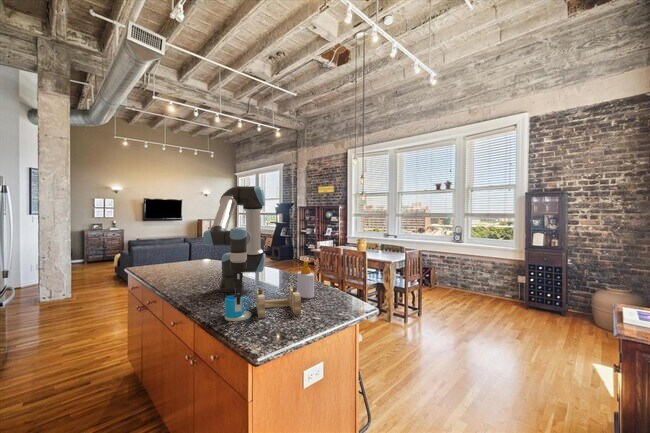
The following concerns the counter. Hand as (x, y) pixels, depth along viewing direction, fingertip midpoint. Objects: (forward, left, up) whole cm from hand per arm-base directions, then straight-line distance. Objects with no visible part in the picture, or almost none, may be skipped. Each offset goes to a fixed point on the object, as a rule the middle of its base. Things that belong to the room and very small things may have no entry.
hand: (238, 306), depth 138 cm
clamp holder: (-3, +19, -5) cm, 20 cm away
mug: (-1, 0, -4) cm, 4 cm away
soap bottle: (-25, +38, -5) cm, 46 cm away
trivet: (0, 0, -5) cm, 5 cm away
